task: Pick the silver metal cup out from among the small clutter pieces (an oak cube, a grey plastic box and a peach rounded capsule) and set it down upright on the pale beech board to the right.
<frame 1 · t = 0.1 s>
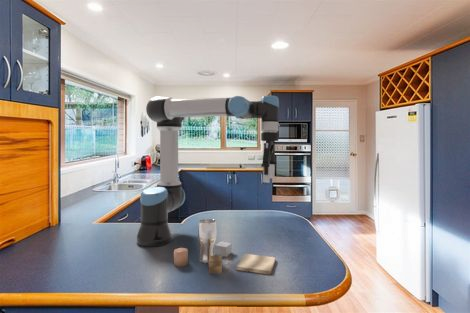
hand: (269, 180, 127), 28 cm above the countertop, fingers open, 13 cm apart
peach rounded capsule: (180, 263, 106), on the countertop
silver metal cup: (207, 260, 110), on the countertop
beech board: (256, 264, 105), on the countertop
grey plastic box: (223, 253, 116), on the countertop
oak cube: (215, 270, 101), on the countertop
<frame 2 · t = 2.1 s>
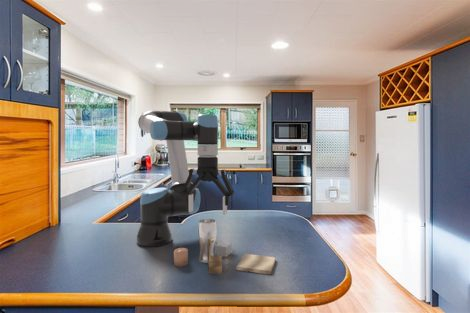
hand: (207, 212, 108), 18 cm above the countertop, fingers open, 13 cm apart
nothing on the countertop moved.
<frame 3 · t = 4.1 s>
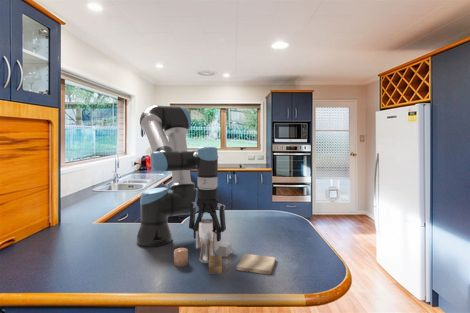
hand: (207, 248, 109), 5 cm above the countertop, fingers closed on silver metal cup, 7 cm apart
silver metal cup: (207, 260, 110), on the countertop, touching gripper
everything else where it was.
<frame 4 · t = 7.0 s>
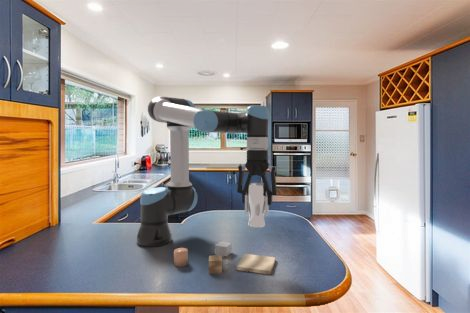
hand: (256, 212, 104), 19 cm above the countertop, fingers closed on silver metal cup, 7 cm apart
silver metal cup: (256, 225, 104), point 15 cm above the countertop, touching gripper
everything else where it was.
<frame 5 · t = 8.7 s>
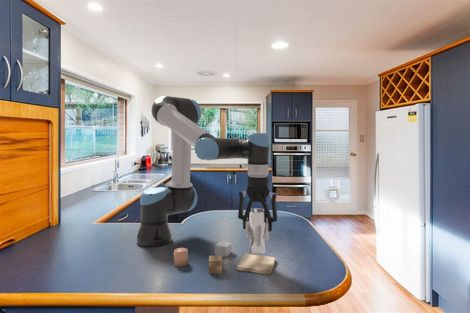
hand: (257, 238, 105), 10 cm above the countertop, fingers closed on silver metal cup, 7 cm apart
silver metal cup: (257, 251, 105), point 5 cm above the countertop, touching gripper
everything else where it was.
when the fingers open (7 cm above the countertop, at t = 10.1 s): silver metal cup stays where it is, resting on beech board.
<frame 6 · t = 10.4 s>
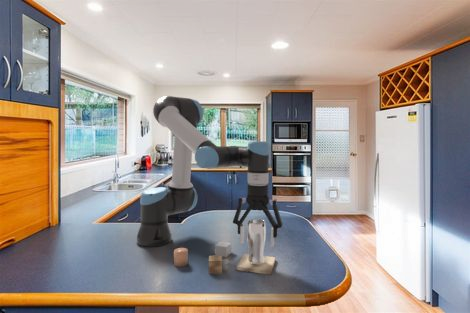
hand: (257, 244, 105), 8 cm above the countertop, fingers open, 10 cm apart
silver metal cup: (256, 262, 105), point 1 cm above the countertop, touching beech board
everything else where it was.
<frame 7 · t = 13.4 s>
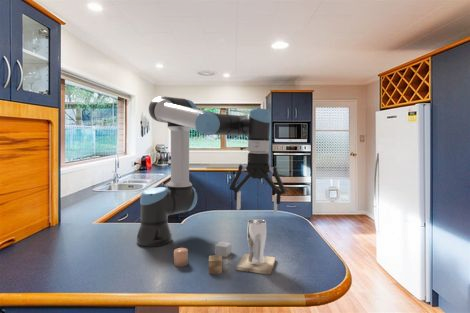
hand: (256, 211, 104), 20 cm above the countertop, fingers open, 13 cm apart
nothing on the countertop moved.
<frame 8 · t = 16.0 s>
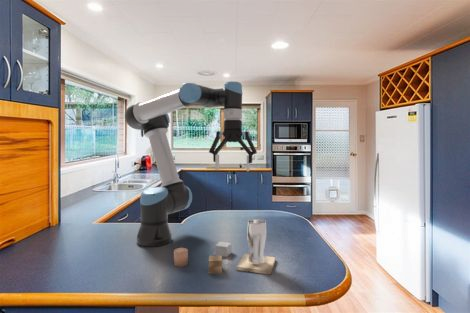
hand: (232, 170, 122), 33 cm above the countertop, fingers open, 13 cm apart
nothing on the countertop moved.
at the end: silver metal cup inside the target area on the beech board (0.2 cm from its centre), point 1.0 cm above the beech board's base; silver metal cup tilted 0°; the gripper is holding nothing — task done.
